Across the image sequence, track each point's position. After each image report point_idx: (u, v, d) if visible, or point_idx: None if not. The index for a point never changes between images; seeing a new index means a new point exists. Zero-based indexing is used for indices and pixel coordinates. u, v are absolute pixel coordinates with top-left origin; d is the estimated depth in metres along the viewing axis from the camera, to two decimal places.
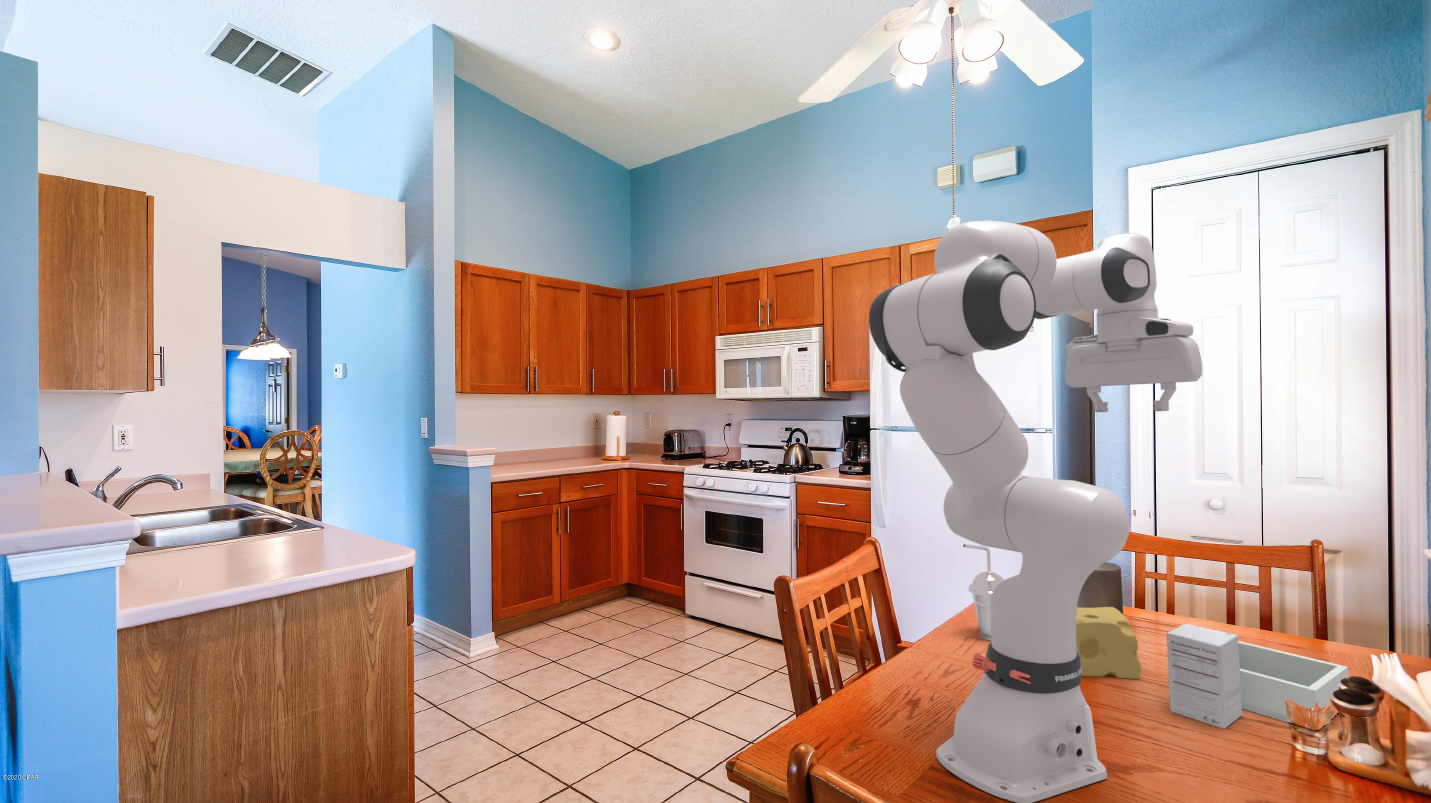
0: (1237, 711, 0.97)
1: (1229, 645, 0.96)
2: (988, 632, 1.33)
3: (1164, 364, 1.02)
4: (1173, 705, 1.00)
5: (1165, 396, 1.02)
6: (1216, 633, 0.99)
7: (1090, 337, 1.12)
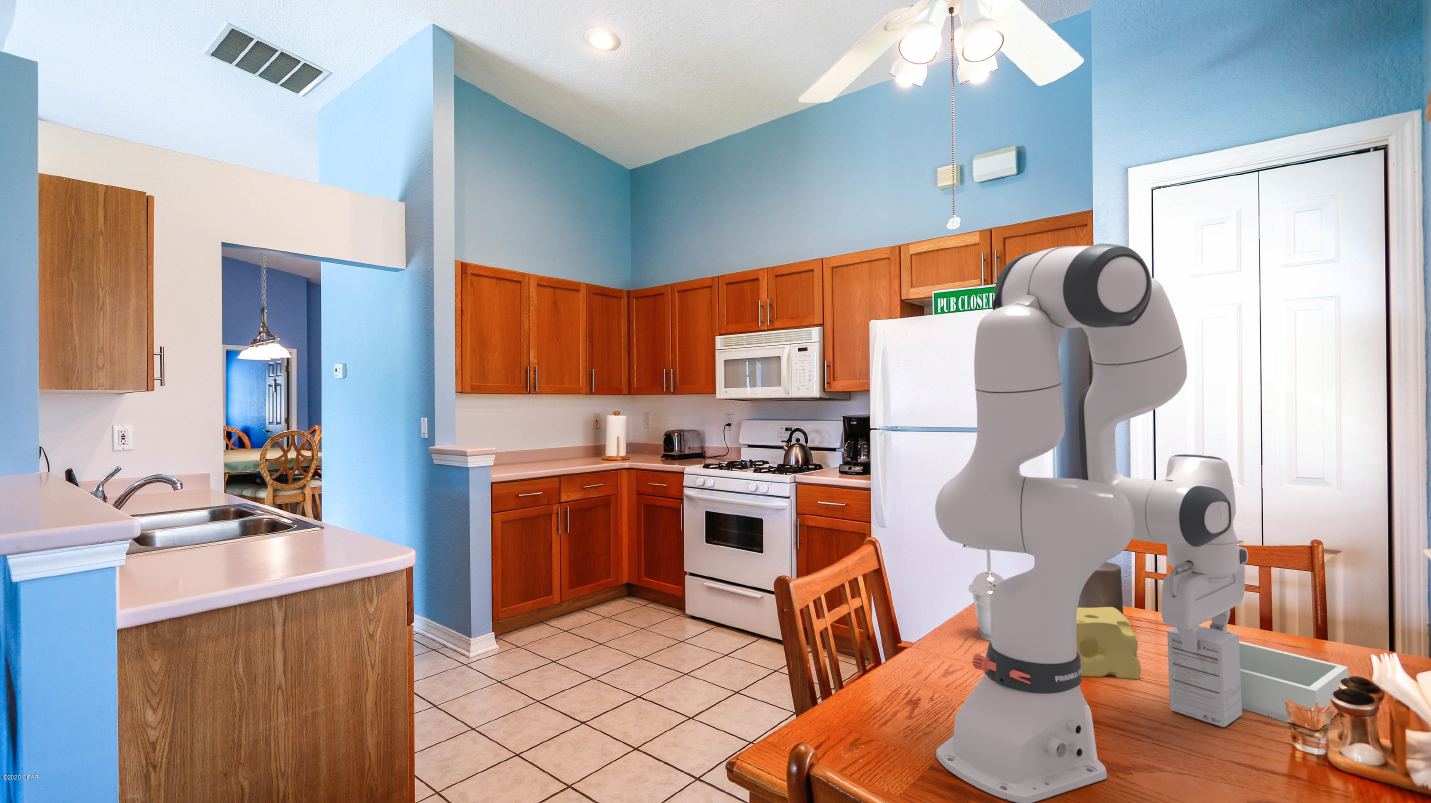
0: (1237, 710, 0.97)
1: (1230, 644, 0.96)
2: (988, 632, 1.33)
3: (1233, 589, 1.01)
4: (1173, 703, 1.00)
5: (1227, 621, 1.02)
6: (1217, 632, 0.99)
7: (1188, 566, 0.96)
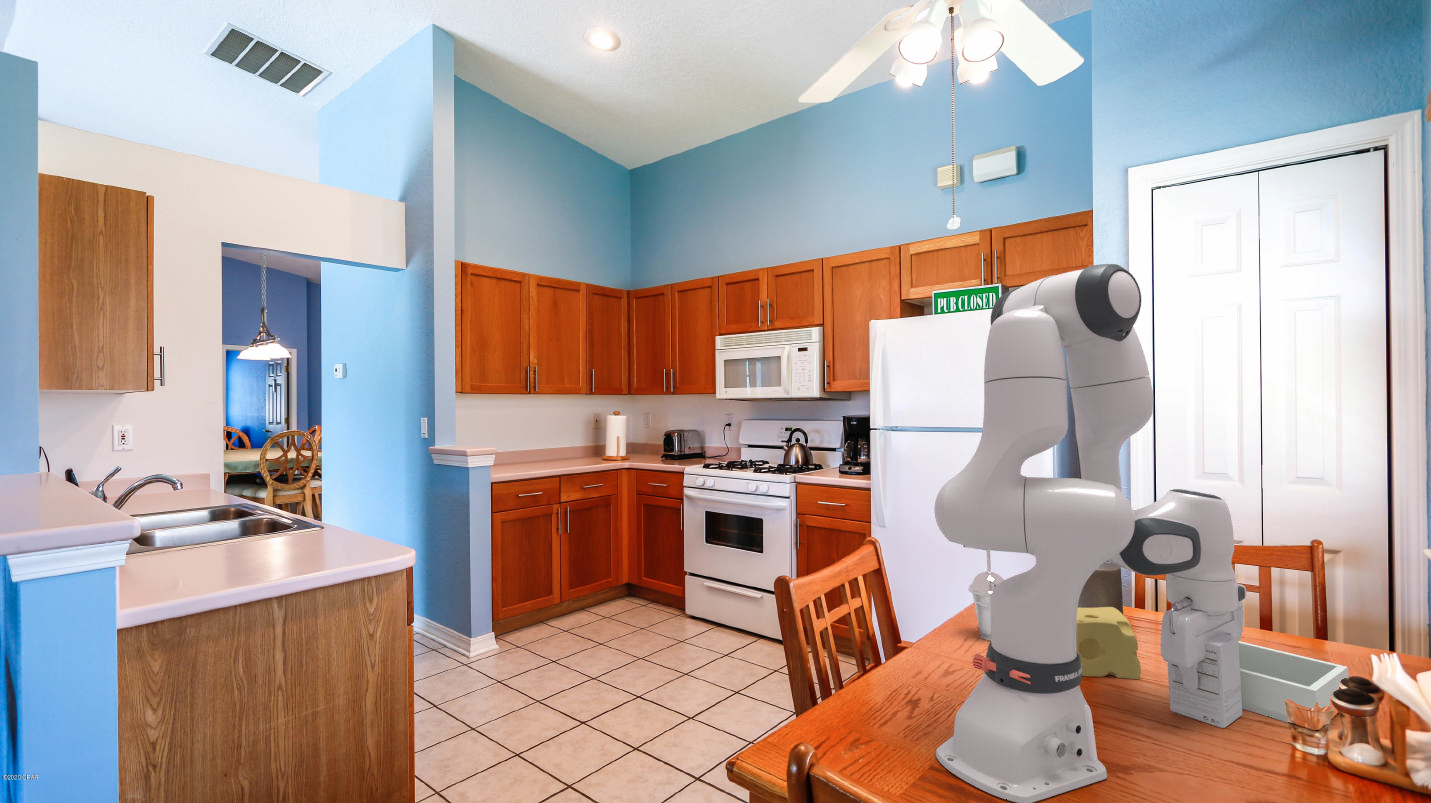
0: (1237, 711, 0.97)
1: (1229, 645, 0.96)
2: (988, 632, 1.33)
3: (1232, 626, 1.01)
4: (1173, 704, 1.00)
5: None
6: None
7: (1187, 602, 0.96)
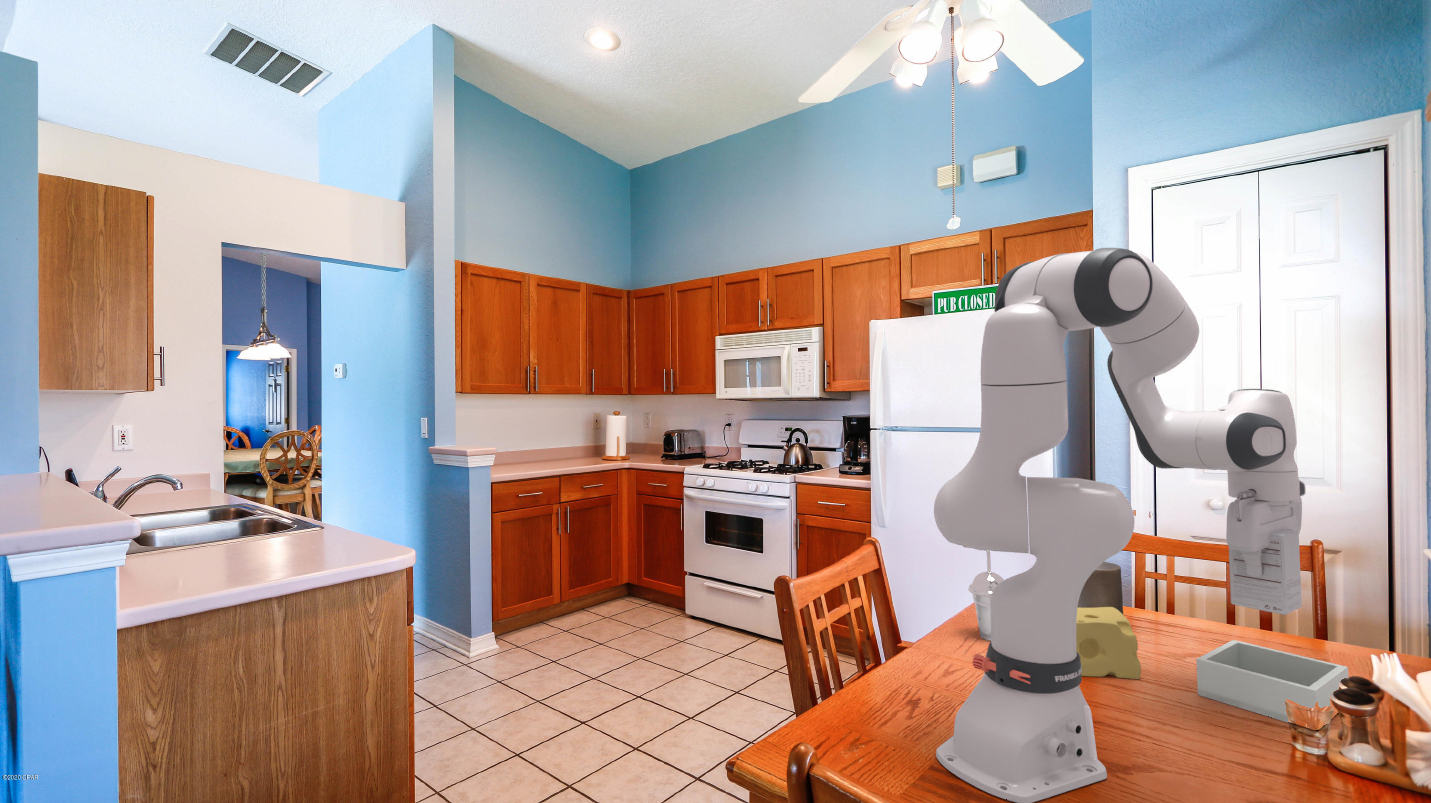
0: (1297, 601, 1.01)
1: (1290, 537, 1.01)
2: (988, 632, 1.33)
3: (1291, 521, 1.05)
4: (1234, 597, 1.04)
5: None
6: None
7: (1252, 493, 1.00)
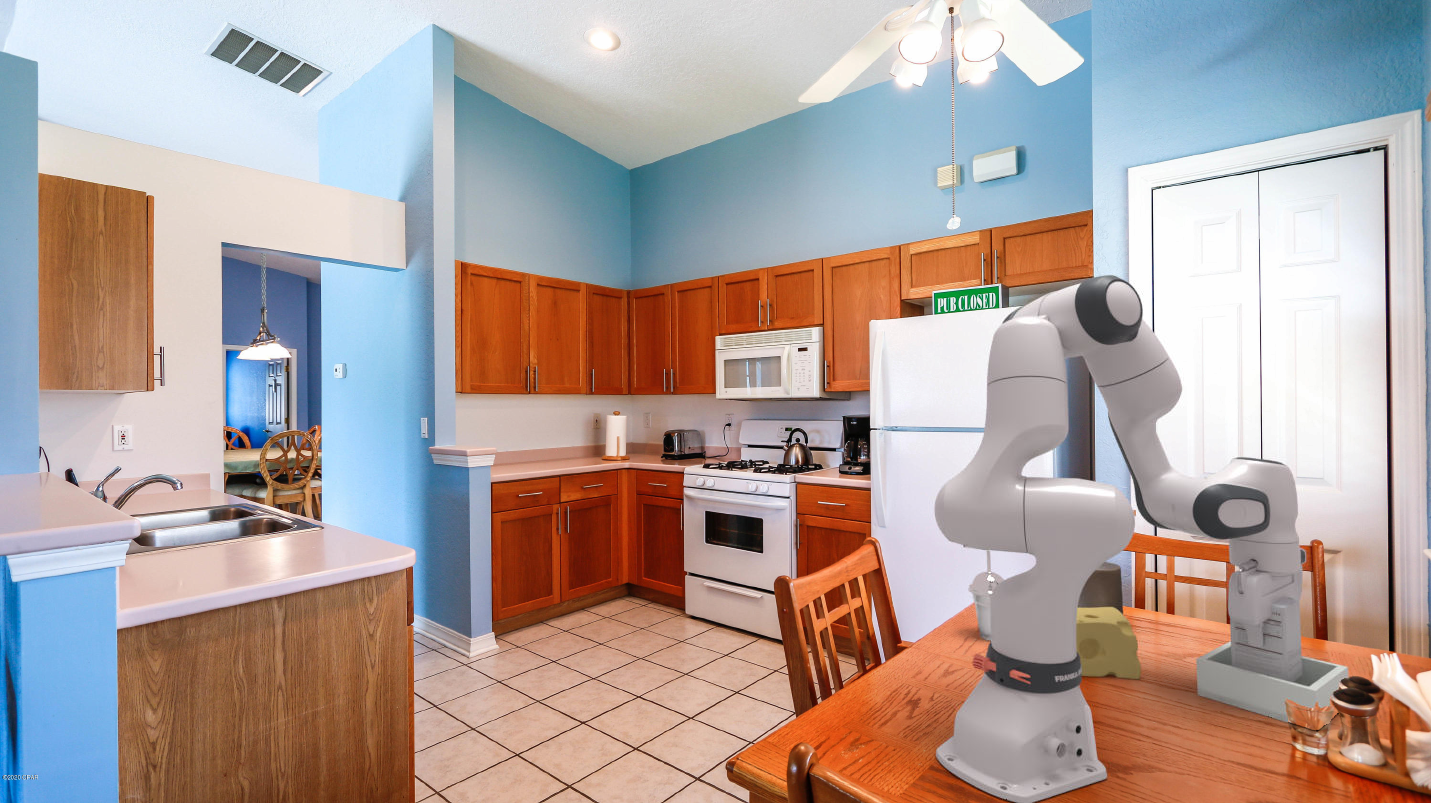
0: (1298, 671, 1.01)
1: (1291, 608, 1.01)
2: (988, 632, 1.33)
3: (1292, 588, 1.06)
4: (1235, 665, 1.04)
5: None
6: None
7: (1254, 564, 1.00)
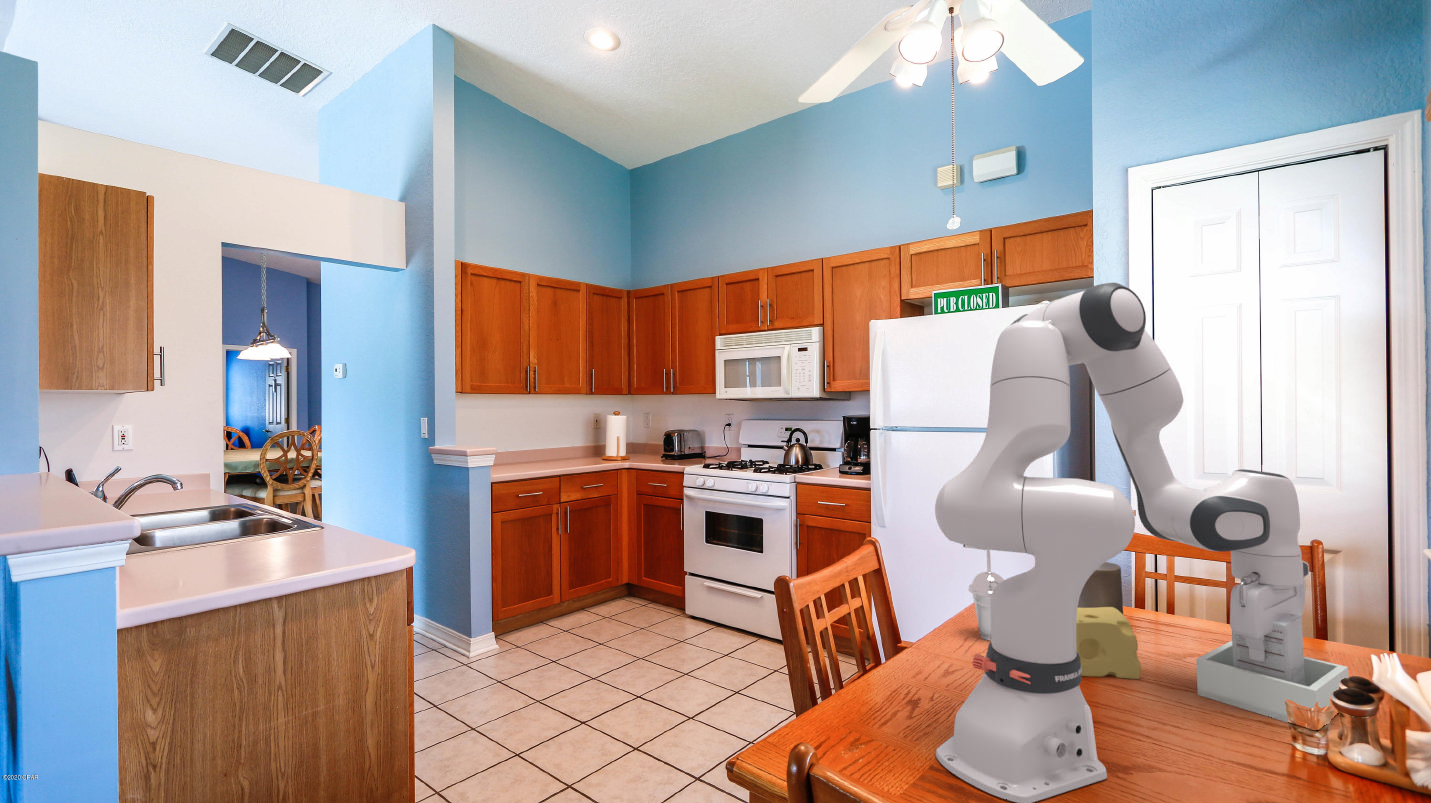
0: None
1: (1294, 625, 1.00)
2: (988, 632, 1.33)
3: (1295, 601, 1.05)
4: None
5: None
6: None
7: (1256, 577, 1.00)
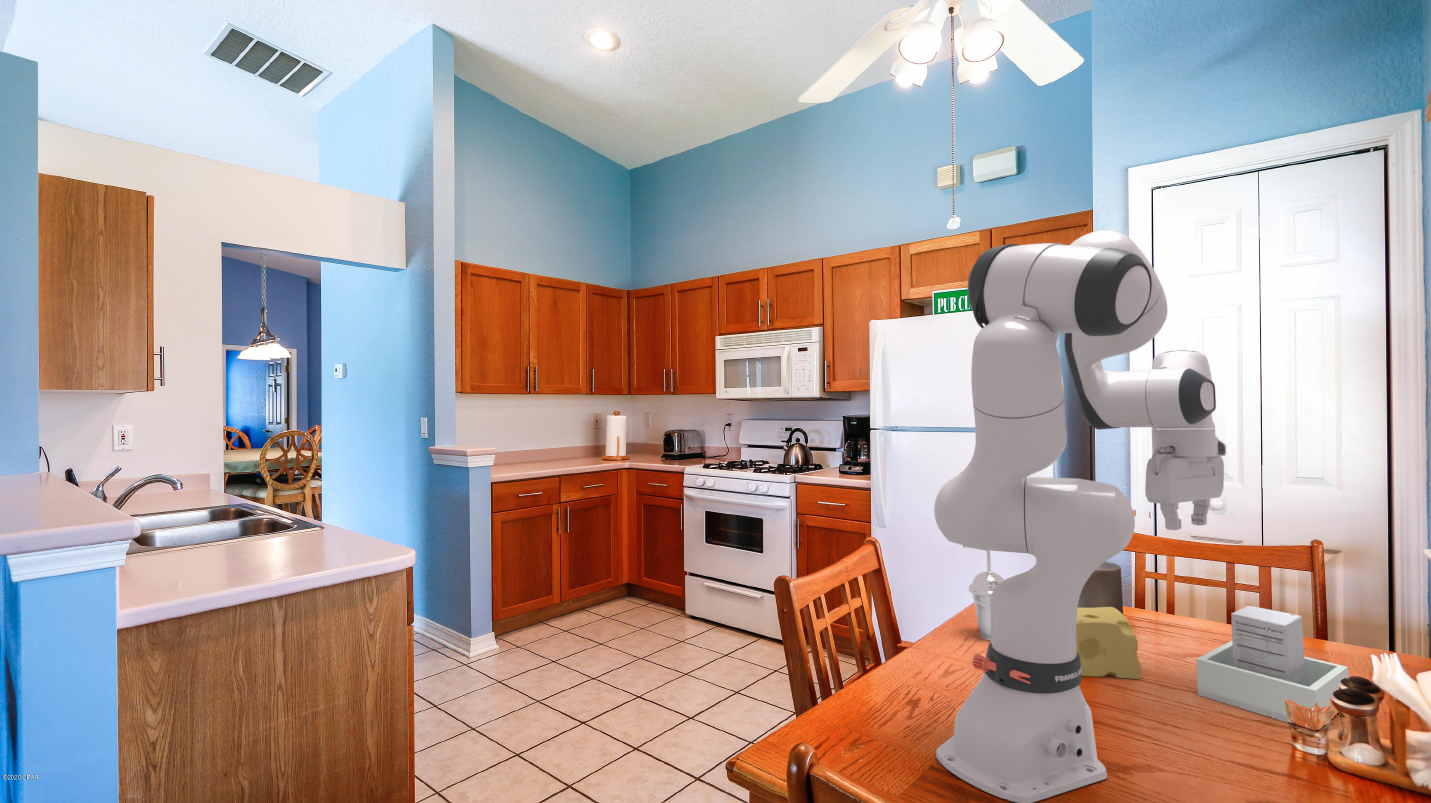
0: None
1: (1294, 625, 1.00)
2: (988, 632, 1.33)
3: (1213, 481, 1.09)
4: None
5: (1207, 511, 1.10)
6: (1280, 614, 1.03)
7: (1170, 449, 1.05)
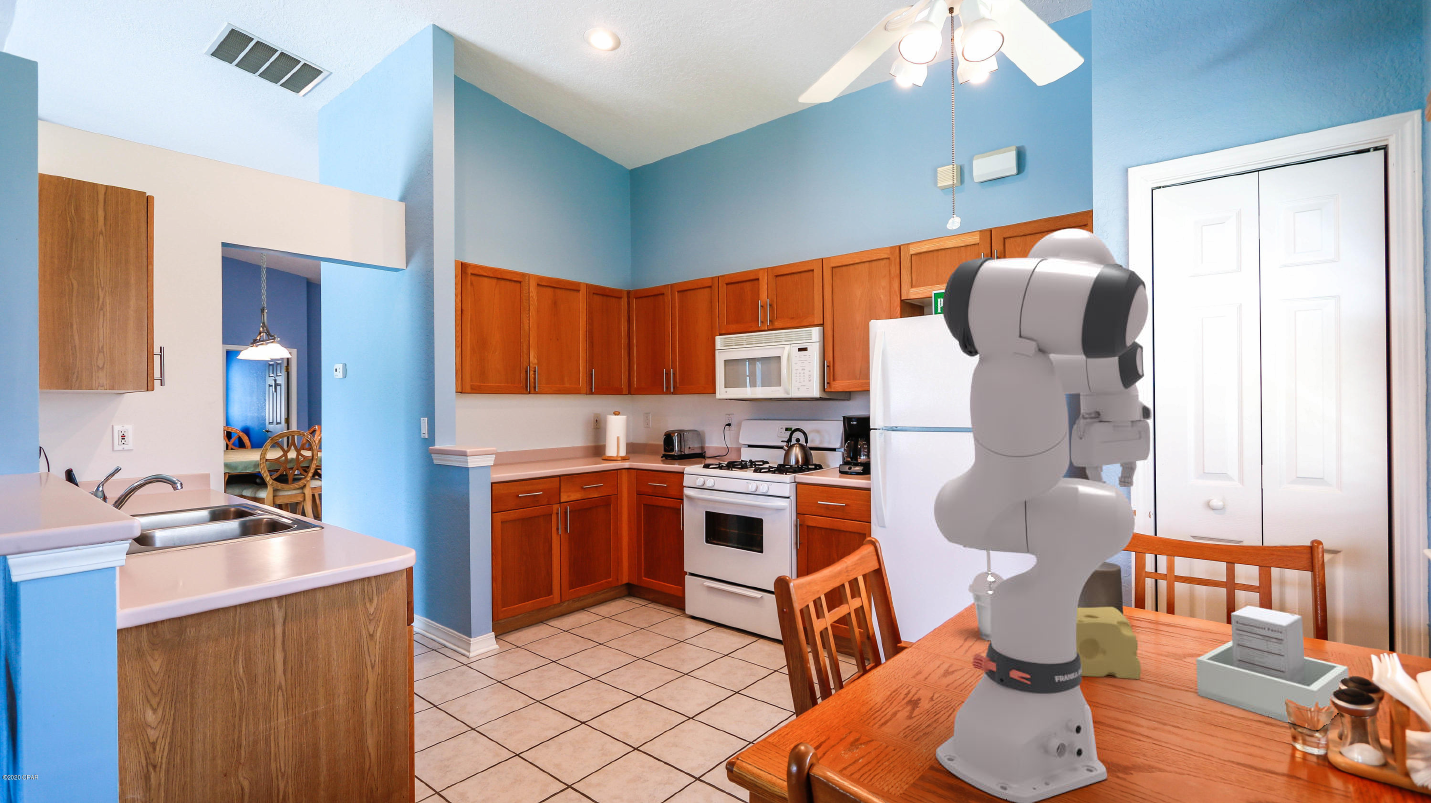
0: None
1: (1294, 625, 1.00)
2: (988, 632, 1.33)
3: (1139, 444, 1.13)
4: None
5: (1133, 473, 1.14)
6: (1280, 614, 1.03)
7: (1095, 414, 1.08)
